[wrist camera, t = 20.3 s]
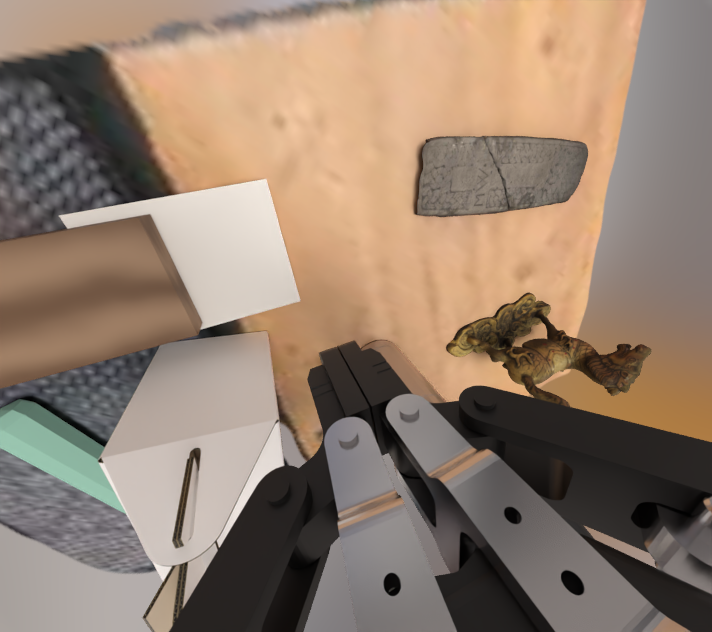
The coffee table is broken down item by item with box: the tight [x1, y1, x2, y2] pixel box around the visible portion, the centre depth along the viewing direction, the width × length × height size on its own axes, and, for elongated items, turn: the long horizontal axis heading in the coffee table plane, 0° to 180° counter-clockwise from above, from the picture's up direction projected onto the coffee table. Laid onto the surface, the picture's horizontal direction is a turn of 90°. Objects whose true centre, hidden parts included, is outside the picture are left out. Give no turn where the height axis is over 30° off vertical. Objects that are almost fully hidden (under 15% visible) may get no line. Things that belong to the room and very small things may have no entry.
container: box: [0, 399, 126, 514], centre depth 37 cm, size 6×6×25 cm
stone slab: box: [416, 136, 588, 217], centre depth 41 cm, size 10×3×30 cm
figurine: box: [447, 293, 651, 407], centre depth 47 cm, size 13×25×20 cm, turn 98°
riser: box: [60, 179, 300, 329], centre depth 31 cm, size 14×18×4 cm
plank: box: [0, 214, 203, 388], centre depth 25 cm, size 12×20×3 cm, turn 99°
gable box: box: [98, 331, 284, 632], centre depth 30 cm, size 22×13×28 cm, turn 178°
